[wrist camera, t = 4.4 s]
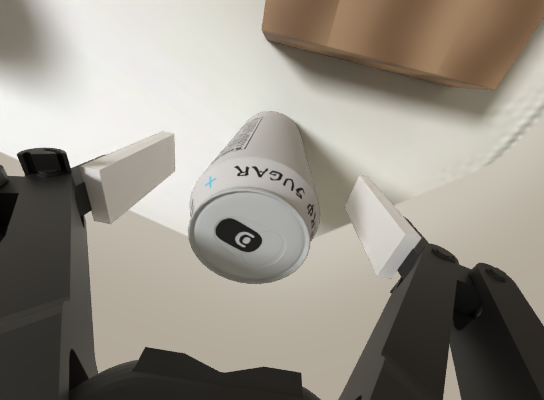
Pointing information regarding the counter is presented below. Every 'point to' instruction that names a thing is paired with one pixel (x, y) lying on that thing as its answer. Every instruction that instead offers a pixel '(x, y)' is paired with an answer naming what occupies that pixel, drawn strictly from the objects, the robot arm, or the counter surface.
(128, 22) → the counter surface
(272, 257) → the energy drink can
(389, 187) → the counter surface
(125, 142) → the counter surface
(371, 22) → the socket block
